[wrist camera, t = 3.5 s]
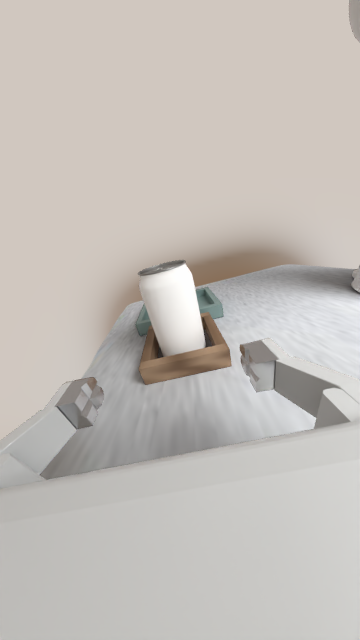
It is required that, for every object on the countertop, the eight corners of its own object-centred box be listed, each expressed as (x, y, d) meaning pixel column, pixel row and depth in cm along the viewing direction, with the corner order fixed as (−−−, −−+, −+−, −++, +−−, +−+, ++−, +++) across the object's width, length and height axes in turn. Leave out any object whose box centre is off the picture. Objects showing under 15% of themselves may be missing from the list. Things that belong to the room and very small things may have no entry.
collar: (210, 324, 28) (208, 311, 27) (231, 366, 19) (229, 349, 18) (153, 337, 29) (149, 325, 27) (145, 384, 19) (138, 369, 18)
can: (183, 333, 28) (164, 261, 22) (215, 342, 23) (201, 256, 18) (154, 355, 24) (123, 276, 19) (186, 372, 20) (157, 274, 14)
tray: (209, 296, 40) (207, 286, 39) (223, 316, 29) (221, 304, 28) (147, 311, 41) (144, 302, 40) (140, 336, 30) (135, 324, 29)
